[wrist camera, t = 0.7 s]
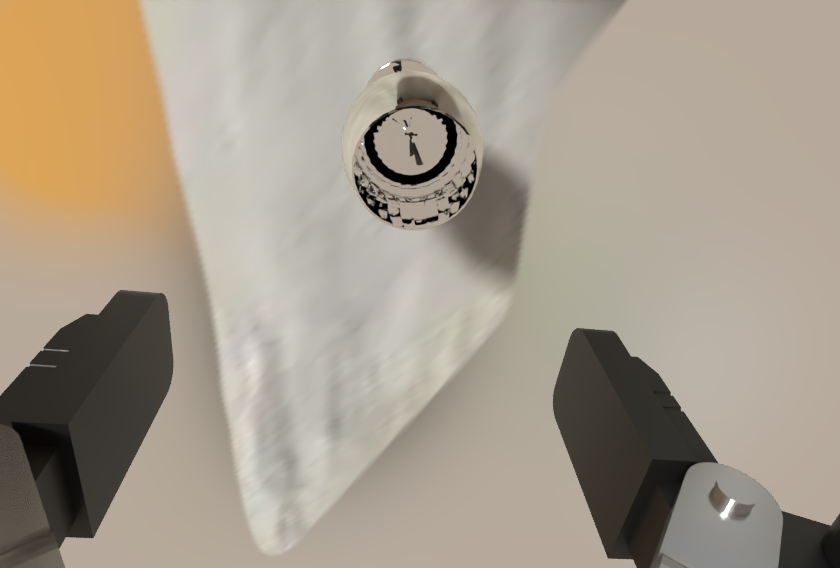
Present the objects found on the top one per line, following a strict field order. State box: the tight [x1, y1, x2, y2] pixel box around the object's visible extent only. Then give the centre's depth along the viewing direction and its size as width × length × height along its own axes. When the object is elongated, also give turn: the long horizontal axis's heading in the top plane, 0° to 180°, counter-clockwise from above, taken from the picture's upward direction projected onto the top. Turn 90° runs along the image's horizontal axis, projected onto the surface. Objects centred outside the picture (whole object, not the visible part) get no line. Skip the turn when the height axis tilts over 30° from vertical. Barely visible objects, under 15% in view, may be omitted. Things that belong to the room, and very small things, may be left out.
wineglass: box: [341, 59, 483, 230], centre depth 26 cm, size 6×6×12 cm
